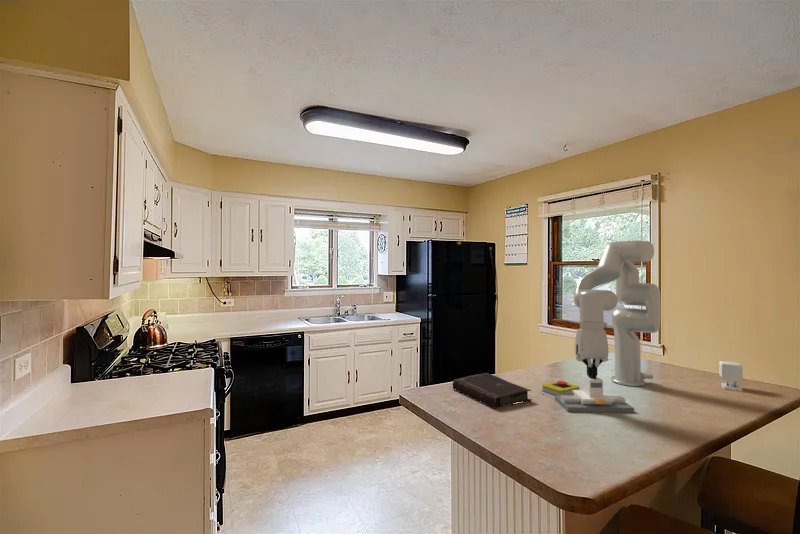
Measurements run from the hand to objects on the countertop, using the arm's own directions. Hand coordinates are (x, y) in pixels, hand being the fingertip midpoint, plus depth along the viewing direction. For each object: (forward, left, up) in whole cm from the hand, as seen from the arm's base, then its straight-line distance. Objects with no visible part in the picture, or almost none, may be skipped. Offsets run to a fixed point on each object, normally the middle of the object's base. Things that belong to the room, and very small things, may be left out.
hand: (592, 377), depth 134 cm
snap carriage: (0, 0, -8) cm, 8 cm away
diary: (+33, -11, -11) cm, 37 cm away
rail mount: (0, 0, -10) cm, 10 cm away
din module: (0, 0, -6) cm, 6 cm away
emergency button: (+6, -15, -11) cm, 19 cm away
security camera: (-65, -22, -10) cm, 69 cm away
